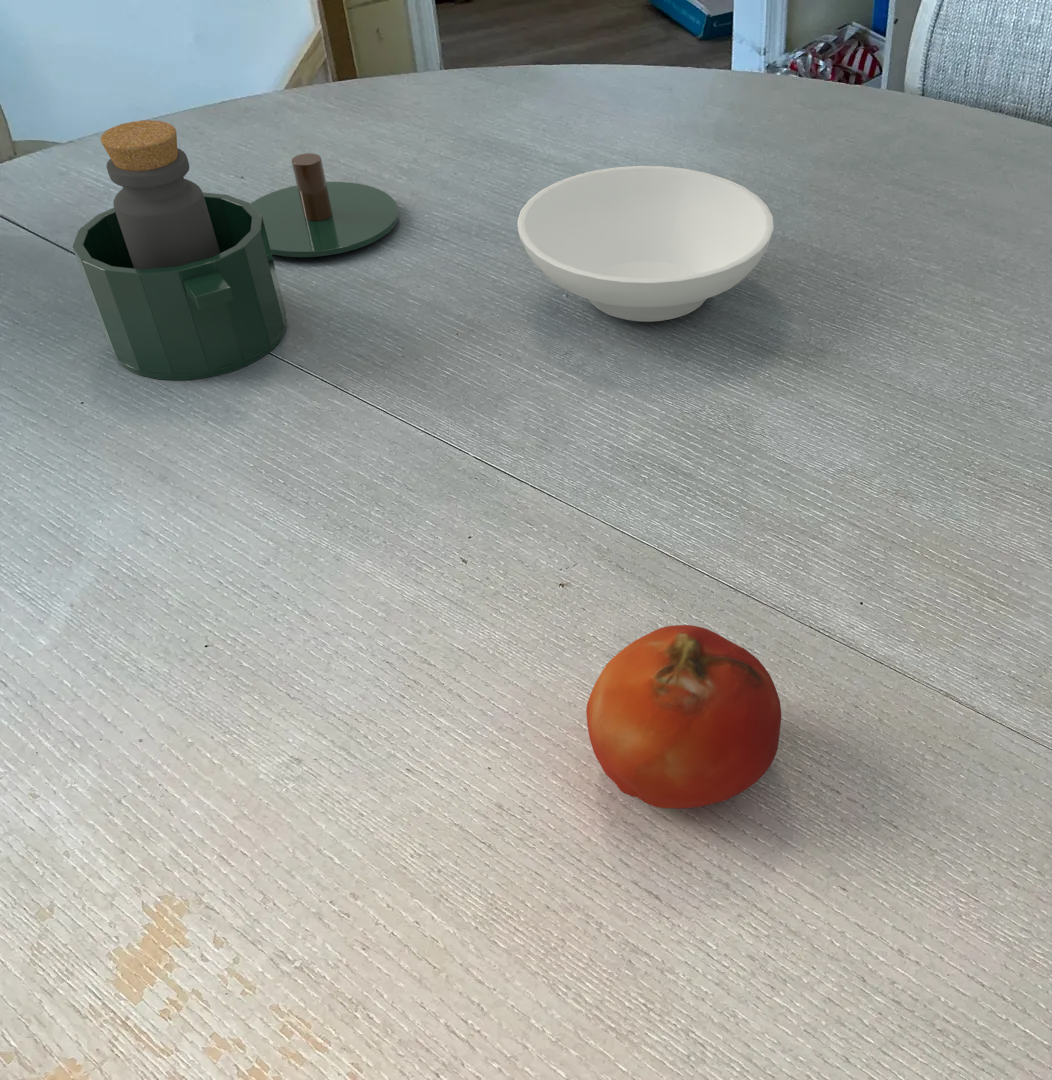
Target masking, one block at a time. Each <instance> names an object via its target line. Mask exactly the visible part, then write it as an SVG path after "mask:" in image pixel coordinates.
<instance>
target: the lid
mask: <svg viewBox="0 0 1052 1080" xmlns="http://www.w3.org/2000/svg"><path fill="white" fill-rule="evenodd" d="M290 162H291V166H292V171H293V175H294V179H295V183H296V185H292V186H288V187H284V188H281V189H277V190H274V191H272V192H269V193H267V194H265V195H262V196H260V197H259V198H257V199H255V200H254V201H252V202H250V204H251V205H252V206H253V207H254V208H255V209H256V210H257V211H258V212H259V213H260V214H261V215H262V218H263V222H264V226H265V230H266V234H267V238H268V242H269V246H270V250H271V254H272V255H274V256H281V257H289V258H315V257H317V258H319V257H326V256H327V257H328V256H332V255H338V254H343V253H346V252H351V251H354V250H357V249H361V248H363V247H366V246H368V245H371V244H372V243H374V242H377V241H379V240H381V239H382V238H383V237H384V236H386V235H387V234H389V233H390V232H391V231H392V229H393V228H394V227H395V226H396V224H397V223H398V220H399V213H400V212H399V208H398V204H397V202H396V200H395V199H394V198H393V197H392V196H391V195H389V194H388V193H387V192H385V191H383V190H381V189H379V188H377V187H374V186H369V185H367V184H362V183H356V182H349V181H348V182H347V181H327V179H326V174H325V169H324V165H323V160H322V157H321V156H320V155H319V154H317V153H312V152H311V153H309V152H308V153H300V154H298V155H295V156H293V157H292V158H291V161H290Z"/></svg>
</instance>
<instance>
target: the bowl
mask: <svg viewBox="0 0 1052 1080" xmlns="http://www.w3.org/2000/svg"><path fill="white" fill-rule="evenodd" d="M516 223H517V230H518V232H517V233H518V236H519V239H520V242H521V244H522V246H523V247H524V249H525V251H526V253H527V255H528V256H529V258H530V260H531V262H532V264H534V266H535V267H536V268H538V269H539V271H541V273H543V274H544V276H546V277H547V278H548V279H549V280H550V281H551V282H552V283H553V284H554V285H556V286H557V287H559V288H561V289H563V290H565V291H566V292H568V293H570V294H571V295H576V296H578V297H580V298H583V299H585V300H588V301H589V302H590V304H592V305H593V307H595V308H596V309H597V310H599V311H600V312H603V313H604V314H606V315H608V316H611V317H613V318H617V319H622V320H626V321H633V322H647V323H649V322H662V321H668V320H673V319H677V318H680V317H683V316H686V315H688V314H690V313H692V312H694V311H696V310H697V309H699V308H700V307H701V306H702V305H703V304H704V303H705V301H706V300H708V299H709V298H712V297H716V296H718V295H720V294H723V293H724V292H726V291H729V290H731V289H733V288H734V287H735V286H736V285H738V284H739V283H740V282H742V281H743V280H744V279H745V278H746V277H747V276H748V275H749V274H750V273H751V272H752V270H754V268H755V267H756V266H757V265H758V264H759V263H760V261H761V260H762V259H763V258H764V255H765V253H766V252H767V250H768V247H769V244H770V242H771V239H772V235H773V233H774V227H775V226H774V217H773V215H772V212H771V210H770V208H769V206H768V205H767V204H766V203H765V202H764V201H763V200H762V199H761V198H760V197H759V195H757V194H756V193H754V192H752V191H751V190H749V189H748V188H746V187H745V186H743V185H740V184H738V183H736V182H734V181H732V180H730V179H728V178H724V177H721V176H718V175H715V174H713V173H712V174H711V173H708V172H704V171H699V170H693V169H689V168H682V167H673V166H663V165H631V166H616V167H609V168H601V169H595V170H592V171H586V172H584V173H579V174H576V175H573V176H570V177H567V178H564V179H561V180H559V181H556V182H554V183H552V184H551V185H549V186H546V187H545V188H543V189H541V190H539V191H538V192H536V194H535V195H533V196H532V197H530V198H529V199H528V200H527V201H526V203H525V204H524V206H523V207H522V209H521V210H520V211H519V215H518V218H517V221H516Z"/></svg>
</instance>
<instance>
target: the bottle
mask: <svg viewBox="0 0 1052 1080" xmlns="http://www.w3.org/2000/svg"><path fill="white" fill-rule="evenodd" d="M177 135H178V134H177V129H176V127H175V126H174V125H173V124H171V123H168V122H165V121H161V120H150V119H149V120H148V119H147V120H146V119H145V120H135V121H134V120H133V121H129V122H125V123H120V124H118V125H115V126H112V127H111V128H109V129H107V130H105V131H104V132H103V133H102V134H101V135H100V143H101V145H102V146H103V148H104V149H105V151H106V153H107V155H108V157H109V159H108V161H107V162H106V170H107V171H106V172H107V174H108V177H109V180H110V181H111V182H113V183H114V184H115V185H117V186H119V187H122V188H121V189H120V190H119V191H118V192H117V194H116V195H115V197H114V199H113V208H114V209H115V212H116V216H117V219H118V222H119V225H120V228H121V231H122V234H123V237H124V240H125V243H126V246H127V249H128V252H129V255H130V258H131V261H132V264H133V267H134V269H154V268H166V267H177V266H182V265H186V264H190V263H193V262H197V261H201V260H205V259H209V258H212V257H214V256H216V255H218V254H220V251H219V247H218V244H217V240H216V237H215V233H214V230H213V226H212V223H211V219H210V215H209V212H208V209H207V205H206V202H205V199H204V195H203V193H202V192H203V189H202V188H201V186H199V185H198V184H197V183H196V182H194V181H192V180H190V179H187V178H185V176H186V175H187V174H188V173H189V171H190V163H189V159H188V156H187V153H186V152H185V151H184V150H182V149H180V148H178V137H177Z"/></svg>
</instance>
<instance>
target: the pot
mask: <svg viewBox="0 0 1052 1080" xmlns="http://www.w3.org/2000/svg"><path fill="white" fill-rule="evenodd" d="M202 193H203V195H204V199H205V202H206V205H207V209H208V212H209V215H210V219H211V223H212V226H213V230H214V233H215V237H216V240H217V244H218V247H219V251H220V254H218V255H216V256H214V257H212V258H209V259H205V260H201V261H197V262H193V263H190V264H186V265H182V266H177V267H166V268H154V269H134V267H133V264H132V261H131V258H130V255H129V252H128V249H127V246H126V243H125V240H124V237H123V234H122V231H121V228H120V225H119V222H118V219H117V216H116V212H115V209H114V207H112V208H110V209H108V210H105V211H103V212H101V213H98V214H96V215H95V216H94V217H92V218H91V219H90V220H89V221H87V223H85V224H84V225H83V226H81V227H80V228H79V229H78V230H77V232H76V234H75V235H76V236H75V237H74V241H73V242H72V250H73V252H74V256H75V258H76V261H77V263H78V267H79V268H80V271H81V274H82V277H83V279H84V282H85V285H86V288H87V290H88V293H89V296H90V299H91V301H92V304H93V307H94V309H95V312H96V314H97V317H98V321H99V323H100V326H101V328H102V331H103V333H104V336H105V339H106V341H107V344H108V347H109V348H110V350H111V353H112V354H113V357H114V358H115V360H116V361H117V362H118V364H119V365H120V366H122V367H123V368H124V369H126V370H127V371H129V372H131V373H133V374H136V375H139V376H141V377H145V378H149V379H156V380H164V381H187V380H189V381H190V380H197V379H198V380H199V379H205V378H209V377H215V376H220V375H223V374H227V373H230V372H234V371H236V370H239V369H242V368H244V367H246V366H248V365H251V364H253V363H254V362H255V363H256V361H259V360H261V359H262V358H264V357H265V356H266V355H268V354H269V353H270V352H271V351H273V350H274V349H275V348H276V347H277V346H278V345H279V344H280V343H281V341H282V339H283V338H284V336H285V335H286V332H287V329H288V328H287V327H288V321H287V310H286V306H285V302H284V298H283V294H282V290H281V287H280V283H279V278H278V274H277V269H276V266H275V262H274V259H273V254H271V250H270V246H269V242H268V238H267V234H266V230H265V226H264V222H263V218H262V215H261V214H260V213H259V212H258V211H257V210H256V209H255V208H254V207H253V206H252V205H251V202H248V201H245V200H243V199H240V198H237V197H234V196H232V195H229V194H223V193H214V192H203V191H202Z"/></svg>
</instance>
